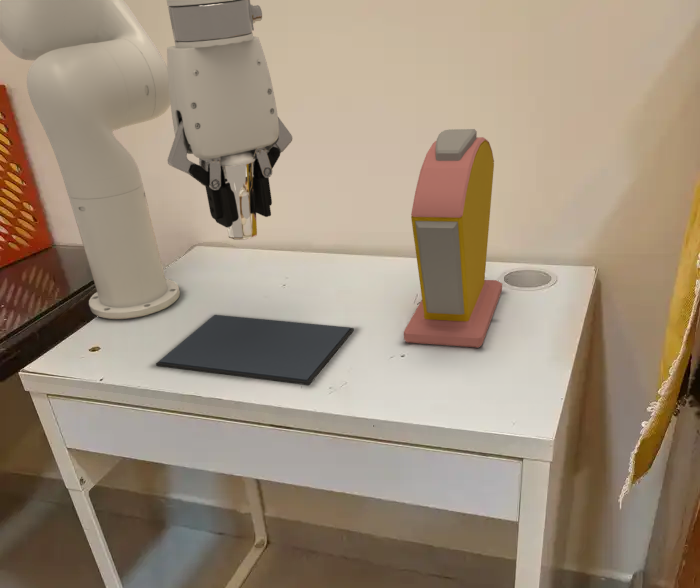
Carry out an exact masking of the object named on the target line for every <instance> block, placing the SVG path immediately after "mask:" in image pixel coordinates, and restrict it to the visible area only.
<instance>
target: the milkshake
mask: <svg viewBox="0 0 700 588" xmlns="http://www.w3.org/2000/svg"><path fill="white" fill-rule="evenodd" d="M256 152H257V148H256V150H255V154H253V153H252V152H251V151H245V152H241V153H236V154H232V155H227V156H222V157H221V183H222V187H223V188H225V189H226V190H227V193H228V199H229V204H230V210H231V216H232V222H233V225H232V226H231V227H226V231H227V236H228V238H229V239H231V240H233V241H235V240H236V241H238V240H239V241H245V240H250V239H253V238H255V237H257V236H258V223H257V213H256V198H255V184H256V175H255V155H256Z"/></svg>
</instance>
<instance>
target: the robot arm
mask: <svg viewBox="0 0 700 588" xmlns="http://www.w3.org/2000/svg"><path fill="white" fill-rule="evenodd" d="M166 4H167V6H168V7H167V9H168V13H169V19H170V24H171V30H172V36H173V40H174V45H173V46H168V47H167V48H166V61H165V59H164V58H163V56H162V54H161V53H160V51H159V49H158V47H157V45H156V44H155V43H154V41H153V40H152V39H151V37H150V36H149V34H148V33H147V31H146V30H145V28H144V27H143V26H142V24H141V23H140V21H139V19H138V18H137V16H136V15H135V13H134V12H133V11H132V9H131V8H130V6H129V4H127V2H126V1H125V0H0V41H1V43H2V44H3V45H4V46H5V48H6V49H7V50H8V51H9V52H10V53H12V54H13V55H14V56H15V57H17V58H19V59H21V60H25V61H32V63H31V65H30V66H29V69H28V71H27V74H26V89H27V93H28V97H29V99H30V103H31V105H32V107H33V109H34V112H35V113H36V116H37V118H38V120H39V122H40V124H41V126H42V128H43V130H44V132H45V134H46V137H47V139H48V141H49V143H50V145H51V148H52V150H53V153H54V156H55V158H56V161H57V164H58V167H59V170H60V173H61V176H62V179H63V183H64V187H65V190H66V193H67V196H68V199H69V202H70V205H71V209H72V212H73V216H74V219H75V222H76V226H77V230H78V233H79V235H80V239H81V242H82V246H83V249H84V253H85V256H86V260H87V262H88V266H89V269H90V272H91V276H92V279H93V283H94V287H95V289H96V292H94V293H93V294H92V295H91V296H90V298H89V300H88V306H89V309H90V312H91V313H92V314H93V315H95V316H97V317H100V318H102V319H110V320H124V319H127V320H128V319H135V318H140V317H144V316H148V315H151V314H154V313H157V312H160V311H162V310H164V309H167V308H168V307H170V306H171V305H173V304H174V303H175V302H176V301H177V300H179V297H180V295H181V293H180V287H179V285H178V283H177V282H175V281H174V280H172V279H169V278H166V276H165V272H164V267H163V264H162V259H161V254H160V251H159V246H158V243H157V238H156V234H155V229H154V226H153V221H152V217H151V212H150V209H149V205H148V200H147V196H146V192H145V189H144V188H145V187H144V184H143V180H142V175H141V172H140V168H139V166H138V164H137V162H136V160H135V158H134V156H133V155H132V154H131V153H130V152H129V150H128V149H127V148H126V147H125V146H124V145H123V144H122V143H121V142H120V141H119V140H118V139H117V137H116V136H115V134H114V131H117V130H121V129H122V128H125V127H126V128H127V127H129V126H133V125H137V124H142V123H146V122H149V121H152V120H155V119H158V118H159V117H161V116H163V115H164V114H165V113H166V112H167V111H168V109H169V108H170V111H171V119H172V125H173V132H174V139H173V142H172V145H171V148H170V151H169V154H168V157H167V164H168V165H169V166H170V167H171V168H174V169H176V170H180V171H181V172H183V173H185V174H188V175H189V176H190V177H192V178H193V179H194V180H196V181H197V182H198V183H200V184H201V185H202V186H204V187H205V192H206V196H207V202H208V207H209V213H210V216H211V218H212V219H214V221H215V222H216V223H217V224H219V225H221V226H222V227H225V228H227V227H231V226H232V225H233V222H232V216H231V210H230V204H229V199H228V193H227V190H226V189H225V188H223V187H222V183H221V157H222V156H227V155H232V154H236V153H241V152H245V151H251V152H252V153H253V154H255V150H256V148H257V152H256V155H255V175H256V184H255V198H256V214H257V215H260V216H262V217H265V218H268V217H271V216H272V210H271V206H272V204H273V201H272V200H273V199H272V193H271V192H272V191H271V185H270V179H269V178H270V177H272V175H273V169H274V168H275V165H276V163H277V162H278V160H279V159H280V156H281V154H282V153H284V151H285V150H286V149H287V148H288V146H289V145H290V144H291V143H292V142H293V135H292V133H291V132H290V131H289V129H288V128H287V127H286V125H285V123H283V121H282V120H281V118H280V117H279V116H278V110H277V103H276V97H275V92H274V87H273V83H272V78H271V73H270V70H269V66H268V62H267V59H266V55H265V53H264V49H263V46H262V44H261V40H260V37H258V36H254V34H253V32H254V29H255V28H254V27H255V26H254V24H255V23H256V22H261V21H262V20H263V11H262V7H261V6H260V5H258V4H257V5H253V4H251V0H166ZM188 155H193V156H194V157H196V158H198V163H195V162H193V161H191V160H189V158H188Z"/></svg>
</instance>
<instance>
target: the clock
mask: <svg viewBox="0 0 700 588" xmlns="http://www.w3.org/2000/svg"><path fill="white" fill-rule="evenodd" d="M477 133H478V131H477V130H476V129H475V128H457V129H456V128H455V129H453V128H452V129H449V128H448V129H445V130H442V131H441V132H439V134H438V136H437V138H436V140H434V142H433V143H432V144H431V145H430V148H429V149H428V151H427V152H426V154H425V156H424V160H423V162H422V165H421V168H420V171H419V175H418V179H417V182H416V183H417V184H416V188H415V191H414V197H413V203H412V208H411V214H410V215H411V216H410V218H411V219H410V221H411V227H412V235H413V241H414V250H415V257H416V264H417V271H418V279H419V287H420V294H421V300H420V302H419V304H418V306H417V307H416V309H415V311H414V313H413V314H412V316H411V317H410V320H409V322H407V323H408V324H407V325H406V327H405V328H404V331H403V340H404V342H406V343H408V344H421V345H433V346H434V345H436V346H449V347H464V348H480V347H481V346H482V345H483V343H484V341H485V338H486V336H487V333H488V330H489V327H490V324H491V321H492V319H493V317H494V313H495V312H496V311H495V310H496V308H497V305H498V302H499V299H500V298H501V297H500V296H501V294H502V291H503V283H502V282H500V281H498V280H495V279H485V278H486V277H485V276H486V266H487V256H488V254H487V253H488V244H489V243H488V241H489V230H490V218H491V206H492V195H493V194H492V193H493V183H494V182H493V181H494V172H495V171H494V169H495V160H494V159H495V158H494V154H493V149H492V147H491V144H490V142H489V140H488V139H486V138H485V137H484V136H481V137H480V136H479V137H478V136H477V135H478V134H477Z"/></svg>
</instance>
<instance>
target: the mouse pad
mask: <svg viewBox="0 0 700 588" xmlns="http://www.w3.org/2000/svg"><path fill="white" fill-rule="evenodd" d="M354 331H355V328H354V327H350V326H339V325H327V324H318V323H306V322H297V321H296V322H295V321H287V320H276V319H264V318H254V317H244V316H234V315H233V316H232V315H221V314H214V315H212V316H211V317H210V318H209V319H208V320H207V321H205V322H204V323H203V324H202V325H200V326H199V327H198V328H197V329H195V330H194V331H193V332H192V333H191V334H189V335H188V336H187V337H185V339H184V340H182V341H181V342H180V343H178V345H176V346H175V347H174V348H173V349H172V350H170V351H169V352H168V353H167V354H166V355H164V356H162V358H161V359H160V360H158V361H157V362H156V363H155V366H156V367H163V368H169V369H170V368H171V369H178V370H187V371H195V372H203V373H211V374H217V375H227V376H235V377H242V378H252V379H259V380H260V379H261V380H265V381H266V380H267V381H274V382H281V383H282V382H283V383H290V384H299V385H306V386H310V385H311V383H312V382H313V381H314V380H315V378H316V377H317V376H318V375H319V373H320V372H321V371H322V369H323V368H324V367H325V366H326V365H327V364H328V362H330V360H332V358H333V356H334V355H335V354H336V353H337V351H339V349H340V348H341V346H343V344H344V343H345V342H346V340H347V339H348V338H349V337H350V336H351V334H352V333H353V332H354Z"/></svg>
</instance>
